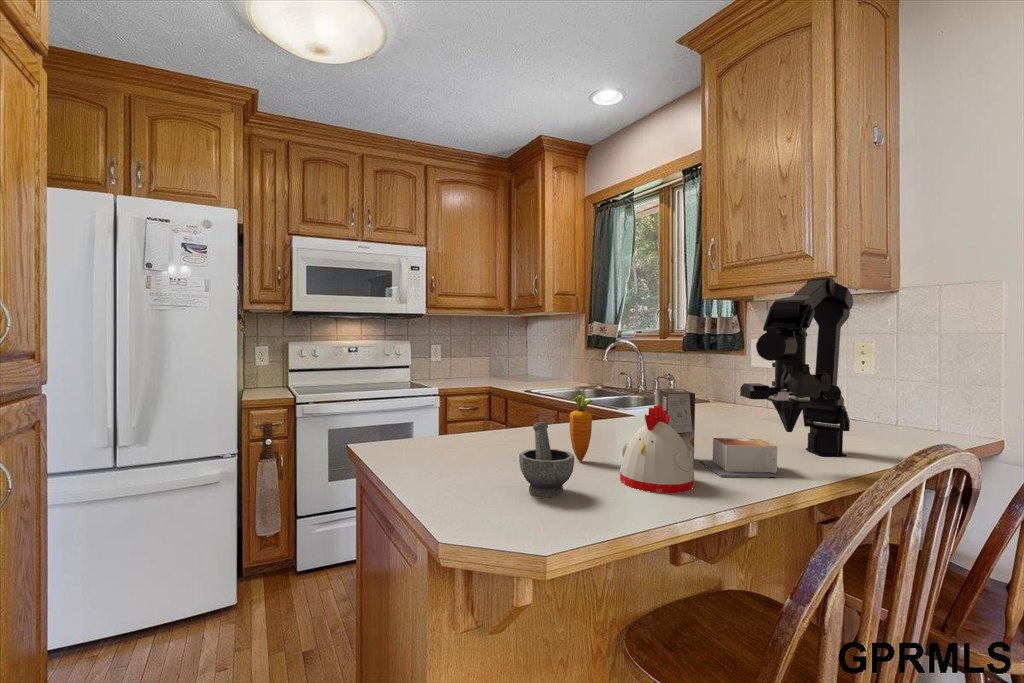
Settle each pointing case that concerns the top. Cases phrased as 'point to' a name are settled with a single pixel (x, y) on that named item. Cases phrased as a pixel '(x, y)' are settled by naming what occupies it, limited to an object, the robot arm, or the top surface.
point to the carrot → (580, 428)
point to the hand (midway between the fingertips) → (788, 431)
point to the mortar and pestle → (545, 466)
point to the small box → (744, 455)
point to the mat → (723, 473)
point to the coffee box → (679, 413)
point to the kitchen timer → (657, 457)
